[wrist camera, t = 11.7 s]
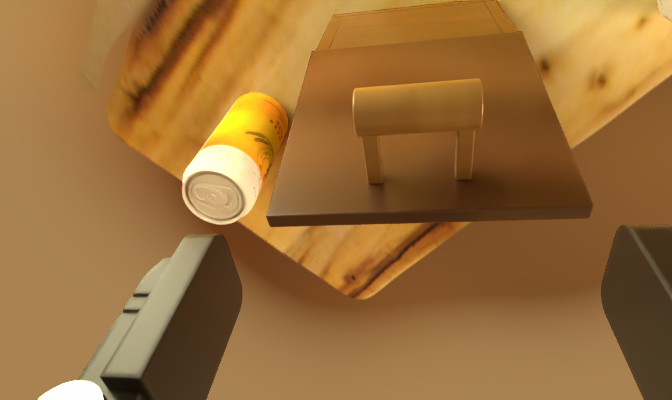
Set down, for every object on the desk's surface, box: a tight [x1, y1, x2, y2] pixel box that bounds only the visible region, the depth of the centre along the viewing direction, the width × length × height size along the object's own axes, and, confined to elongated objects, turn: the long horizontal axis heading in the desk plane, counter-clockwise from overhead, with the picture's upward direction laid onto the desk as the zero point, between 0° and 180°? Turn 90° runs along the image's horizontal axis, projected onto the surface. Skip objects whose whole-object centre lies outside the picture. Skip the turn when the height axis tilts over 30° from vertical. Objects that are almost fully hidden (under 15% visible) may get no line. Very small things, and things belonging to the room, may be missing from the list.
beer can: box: [182, 93, 288, 224], centre depth 42 cm, size 6×6×15 cm
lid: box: [266, 31, 594, 227], centre depth 24 cm, size 16×14×6 cm
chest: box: [316, 0, 517, 51], centre depth 40 cm, size 15×14×11 cm
